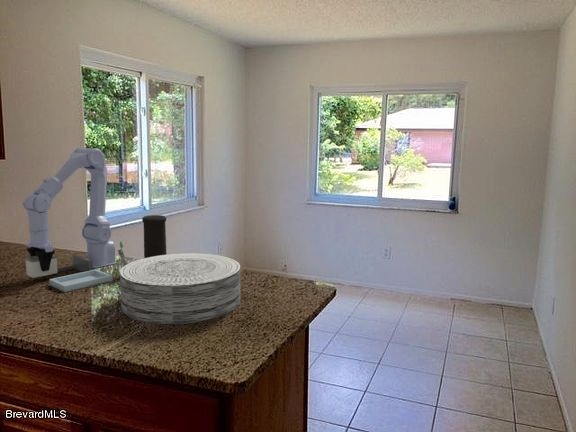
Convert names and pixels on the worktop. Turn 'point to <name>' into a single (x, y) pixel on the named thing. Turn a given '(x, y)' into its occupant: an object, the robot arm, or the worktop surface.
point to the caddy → (35, 269)
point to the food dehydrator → (179, 287)
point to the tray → (80, 280)
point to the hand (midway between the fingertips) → (41, 269)
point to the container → (154, 235)
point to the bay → (78, 264)
